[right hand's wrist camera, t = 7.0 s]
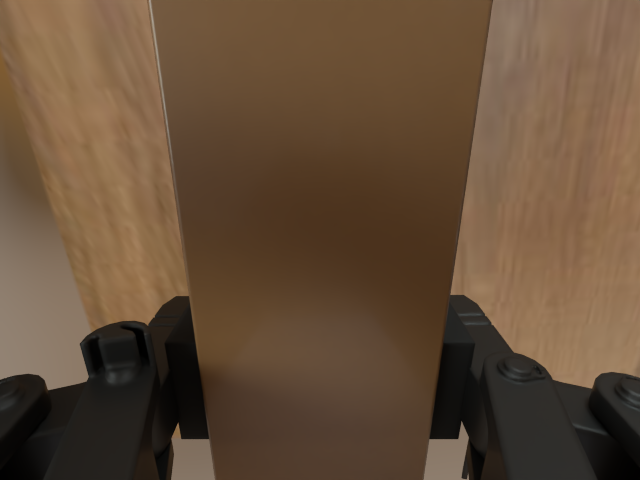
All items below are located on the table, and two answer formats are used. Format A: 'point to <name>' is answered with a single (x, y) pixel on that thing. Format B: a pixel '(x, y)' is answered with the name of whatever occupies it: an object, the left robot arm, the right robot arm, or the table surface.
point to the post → (319, 220)
